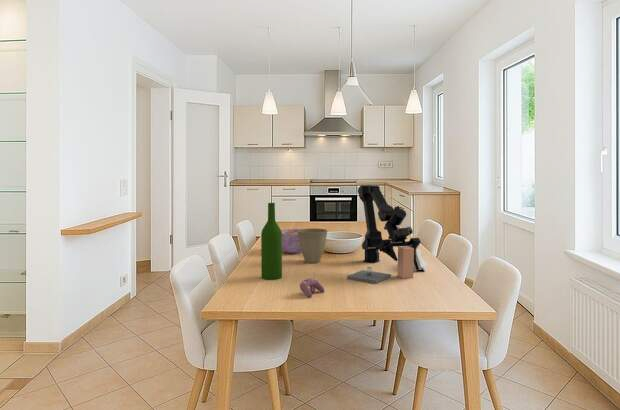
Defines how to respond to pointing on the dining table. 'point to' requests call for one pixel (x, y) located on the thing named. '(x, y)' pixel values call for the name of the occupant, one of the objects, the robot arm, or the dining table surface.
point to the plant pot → (312, 243)
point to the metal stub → (369, 271)
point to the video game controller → (311, 287)
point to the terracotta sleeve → (405, 262)
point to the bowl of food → (290, 241)
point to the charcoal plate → (374, 278)
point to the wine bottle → (271, 247)
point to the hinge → (419, 262)
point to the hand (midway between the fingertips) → (406, 260)
